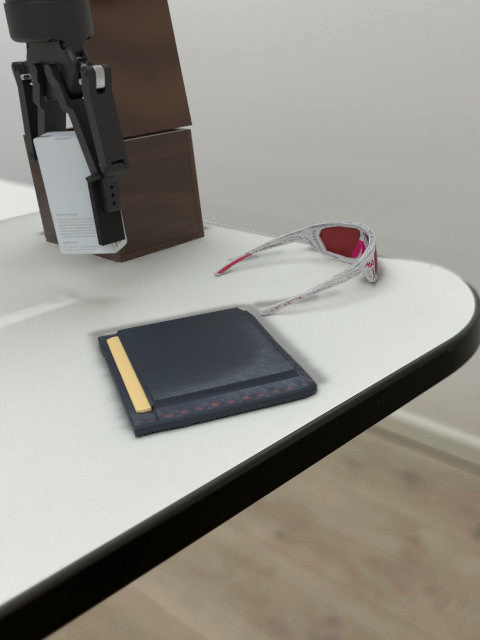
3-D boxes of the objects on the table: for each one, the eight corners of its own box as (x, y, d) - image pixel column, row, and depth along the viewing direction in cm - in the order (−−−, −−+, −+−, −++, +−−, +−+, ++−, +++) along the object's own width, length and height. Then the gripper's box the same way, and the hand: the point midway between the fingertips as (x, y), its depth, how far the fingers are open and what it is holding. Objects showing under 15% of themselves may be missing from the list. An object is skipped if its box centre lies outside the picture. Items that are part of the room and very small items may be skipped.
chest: (46, 241, 106) (22, 134, 100) (128, 219, 115) (111, 120, 109) (120, 262, 96) (99, 145, 90) (204, 236, 105) (191, 129, 99)
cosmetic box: (128, 242, 83) (109, 128, 78) (115, 255, 79) (93, 135, 74) (73, 243, 84) (50, 129, 78) (56, 256, 80) (31, 137, 74)
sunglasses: (411, 284, 84) (403, 241, 81) (271, 343, 78) (259, 299, 76) (340, 246, 98) (332, 209, 95) (217, 294, 92) (205, 256, 89)
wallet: (319, 374, 61) (122, 418, 55) (320, 395, 61) (126, 440, 56) (250, 296, 77) (94, 324, 72) (252, 314, 78) (98, 342, 73)
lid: (54, -33, 83) (91, -47, 79) (156, -33, 93) (194, -45, 88) (97, 141, 90) (133, 138, 85) (188, 125, 99) (225, 122, 95)
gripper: (-46, -3, 74) (8, 229, 84) (68, -7, 62) (116, 262, 72) (27, -5, 79) (70, 214, 89) (145, -9, 67) (179, 242, 77)
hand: (90, 235), depth 81 cm, fingers closed on cosmetic box, 7 cm apart
